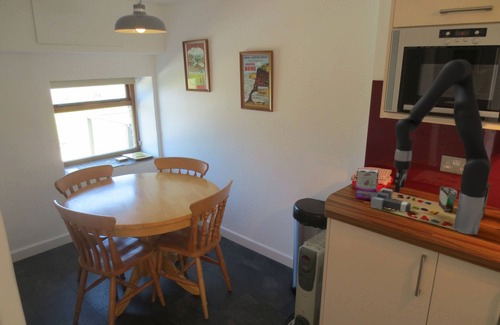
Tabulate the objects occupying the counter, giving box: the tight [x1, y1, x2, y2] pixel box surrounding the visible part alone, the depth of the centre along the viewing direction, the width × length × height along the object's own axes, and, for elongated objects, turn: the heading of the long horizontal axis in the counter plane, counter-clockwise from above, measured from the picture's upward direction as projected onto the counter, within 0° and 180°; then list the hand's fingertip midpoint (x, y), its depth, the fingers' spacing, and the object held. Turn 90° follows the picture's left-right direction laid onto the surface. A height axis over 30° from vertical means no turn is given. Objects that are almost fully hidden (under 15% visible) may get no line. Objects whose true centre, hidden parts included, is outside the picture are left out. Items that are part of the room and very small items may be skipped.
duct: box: [370, 187, 394, 210], centre depth 181 cm, size 6×19×6 cm, turn 143°
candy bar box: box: [354, 167, 380, 201], centre depth 185 cm, size 11×5×16 cm, turn 67°
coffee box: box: [481, 182, 491, 220], centre depth 164 cm, size 9×6×16 cm
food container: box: [437, 186, 459, 213], centre depth 172 cm, size 12×6×10 cm, turn 168°
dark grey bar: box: [379, 197, 412, 214], centre depth 173 cm, size 16×4×4 cm, turn 53°
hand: (399, 189), depth 170 cm, fingers open, 8 cm apart
